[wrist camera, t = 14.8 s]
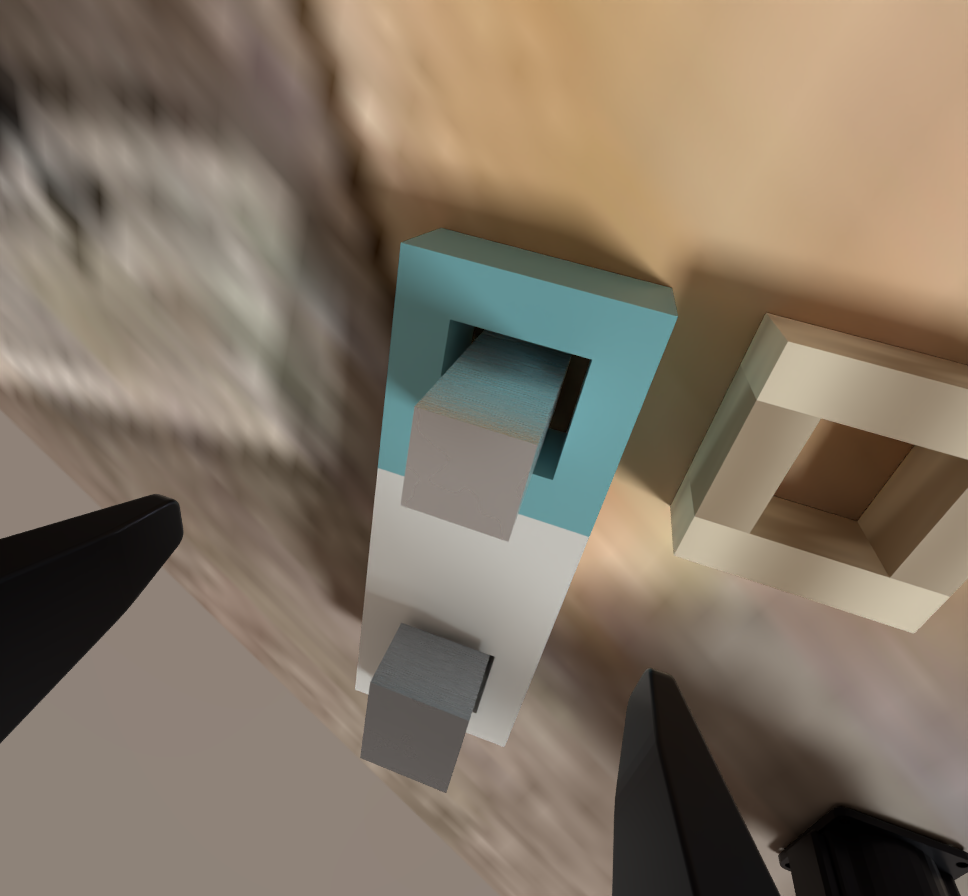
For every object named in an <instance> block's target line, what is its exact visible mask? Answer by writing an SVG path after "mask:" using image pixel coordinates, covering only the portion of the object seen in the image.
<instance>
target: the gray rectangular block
mask: <svg viewBox="0 0 968 896" xmlns="http://www.w3.org/2000/svg"><path fill="white" fill-rule="evenodd" d="M489 657H490V655H488V654H485V653H482V652H480V651H478V650H475V649H472V648H470V647H467V646H464V645H461V644H459V643H456V642H453V641H450V640H448V639H445V638H442V637H439V636H437V635H434V634H431V633H429V632H426V631H423V630H420V629H418V628H415V627H412V626H409V625H407V624H404V623H401V624H400V626H399V628H398V630H397V632H396V634H395V636H394V638H393V640H392V642H391V643H390V645H389V647H388V649H387V651H386V653H385V655H384V657H383V659H382V661H381V663H380V664H379V666H378V668H377V670H376V672H375V674H374V676H373V678H372V680H371V682H370V687H369V695H368V703H367V710H366V718H365V726H364V734H363V741H362V749H361V757H360V758H362V759H364V760H367V761H369V762H372V763H374V764H377V765H379V766H381V767H384V768H386V769H389V770H391V771H394V772H396V773H398V774H401V775H403V776H406V777H408V778H411V779H413V780H416V781H418V782H420V783H423V784H425V785H428V786H430V787H433V788H435V789H437V790H440V791H442V792H445V793H446V792H447V789H448V786H449V783H450V779H451V776H452V773H453V770H454V767H455V764H456V761H457V758H458V755H459V751H460V748H461V745H462V742H463V739H464V736H465V733H466V730H467V727H468V723H469V720H470V717H471V714H472V711H473V708H474V704H475V701H476V698H477V695H478V692H479V688H480V685H481V682H482V679H483V676H484V672H485V669H486V666H487V663H488V660H489Z"/></svg>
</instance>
